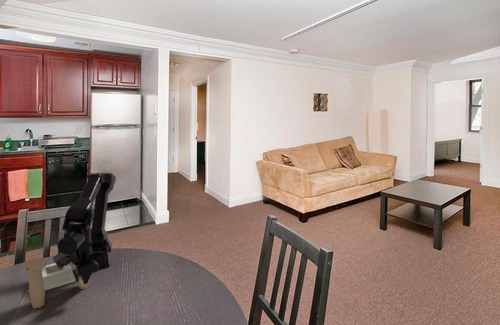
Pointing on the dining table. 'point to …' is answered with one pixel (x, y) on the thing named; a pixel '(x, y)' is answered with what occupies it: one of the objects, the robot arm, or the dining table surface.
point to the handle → (35, 281)
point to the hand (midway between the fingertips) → (84, 281)
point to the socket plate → (57, 276)
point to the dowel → (81, 284)
